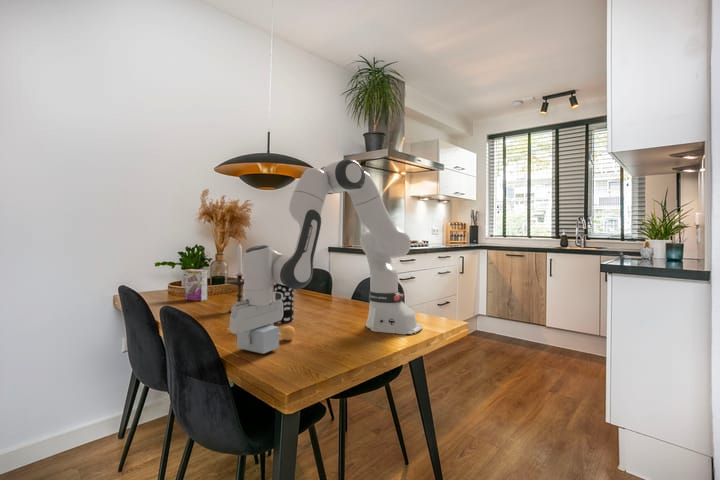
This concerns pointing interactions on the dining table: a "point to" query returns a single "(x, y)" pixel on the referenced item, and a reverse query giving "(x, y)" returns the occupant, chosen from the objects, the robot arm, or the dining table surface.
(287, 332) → the ball
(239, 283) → the candlestick
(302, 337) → the dining table surface
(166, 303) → the dining table surface
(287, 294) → the white-spotted black cylinder
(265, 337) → the light grey rectangular block
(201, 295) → the candy bar box
